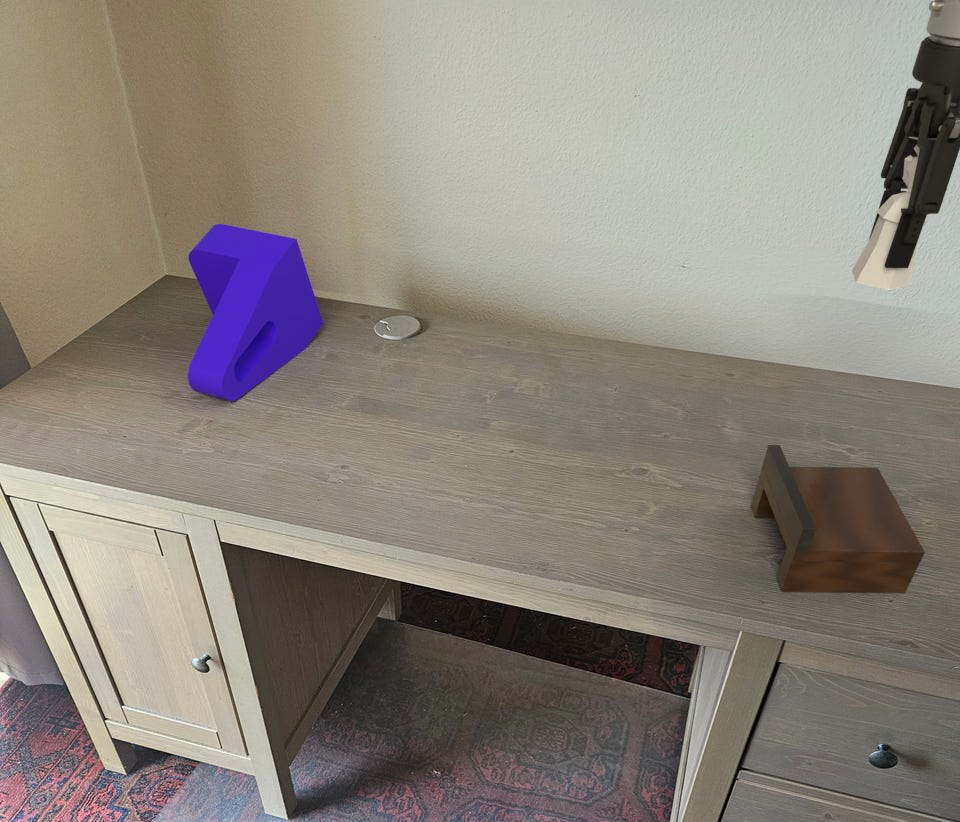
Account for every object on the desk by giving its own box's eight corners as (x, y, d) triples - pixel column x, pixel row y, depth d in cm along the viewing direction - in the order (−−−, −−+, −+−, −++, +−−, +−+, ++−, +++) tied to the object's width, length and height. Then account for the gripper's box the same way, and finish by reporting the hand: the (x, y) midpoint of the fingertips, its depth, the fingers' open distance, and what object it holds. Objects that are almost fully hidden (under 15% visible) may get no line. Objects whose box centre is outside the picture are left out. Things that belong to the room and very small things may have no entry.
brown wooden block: (861, 507, 108) (886, 445, 102) (905, 593, 97) (936, 530, 90) (750, 506, 108) (768, 444, 102) (781, 592, 97) (803, 528, 90)
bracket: (323, 323, 139) (239, 304, 143) (296, 238, 126) (205, 220, 130) (242, 433, 128) (155, 408, 133) (204, 353, 115) (108, 328, 120)
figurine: (922, 282, 111) (981, 124, 98) (877, 294, 108) (931, 134, 95) (881, 263, 115) (931, 109, 103) (836, 274, 113) (883, 118, 100)
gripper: (896, 20, 100) (836, 227, 116) (958, 58, 87) (881, 287, 103) (961, 20, 100) (892, 228, 116) (1033, 59, 86) (944, 287, 103)
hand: (887, 255), depth 110 cm, fingers closed on figurine, 6 cm apart
